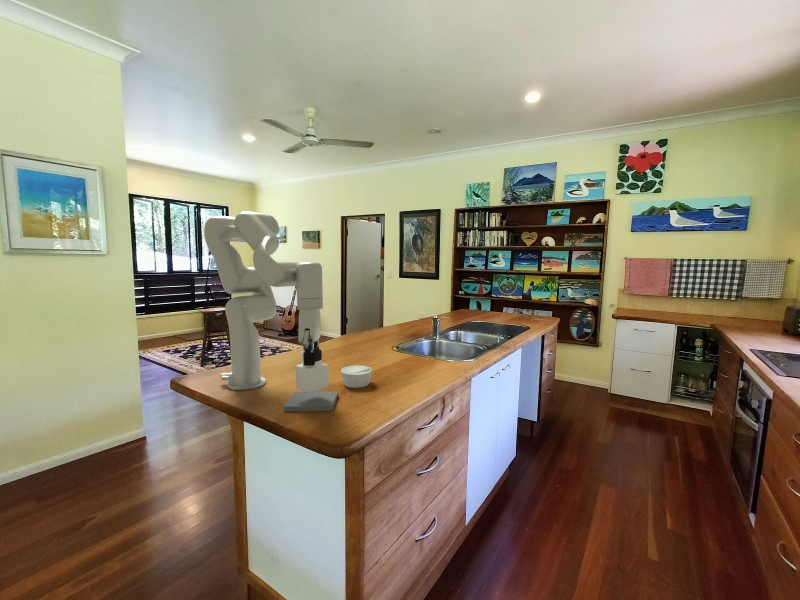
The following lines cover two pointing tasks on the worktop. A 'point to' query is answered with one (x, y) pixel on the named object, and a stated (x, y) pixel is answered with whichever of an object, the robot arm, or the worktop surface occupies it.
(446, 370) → the worktop surface
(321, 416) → the worktop surface
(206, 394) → the worktop surface
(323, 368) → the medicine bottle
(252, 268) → the robot arm
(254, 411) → the worktop surface
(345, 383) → the ramekin
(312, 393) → the rubber mat
